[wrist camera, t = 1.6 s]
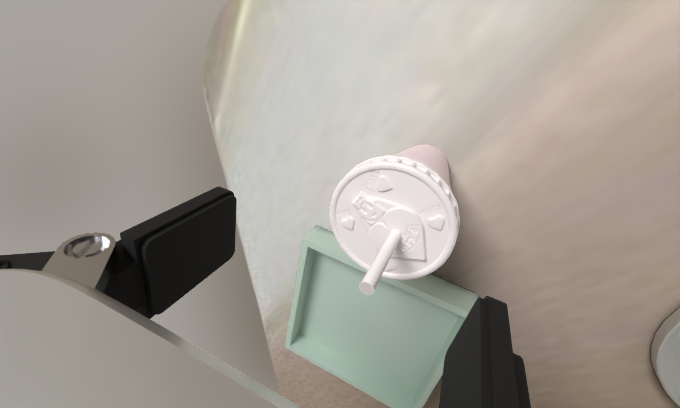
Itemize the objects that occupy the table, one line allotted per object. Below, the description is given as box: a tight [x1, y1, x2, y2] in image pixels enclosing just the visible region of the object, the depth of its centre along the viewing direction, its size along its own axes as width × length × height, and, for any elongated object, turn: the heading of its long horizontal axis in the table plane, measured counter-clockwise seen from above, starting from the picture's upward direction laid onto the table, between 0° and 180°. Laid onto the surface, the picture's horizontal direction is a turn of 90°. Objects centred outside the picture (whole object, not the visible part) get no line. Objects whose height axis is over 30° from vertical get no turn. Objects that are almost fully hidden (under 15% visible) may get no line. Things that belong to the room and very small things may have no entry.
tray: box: [285, 226, 478, 408], centre depth 29 cm, size 15×15×3 cm
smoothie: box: [329, 145, 460, 295], centre depth 17 cm, size 6×6×14 cm
